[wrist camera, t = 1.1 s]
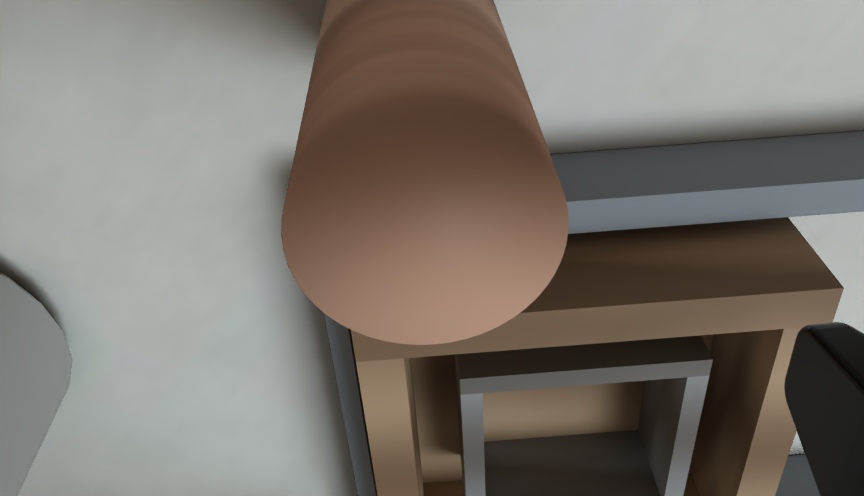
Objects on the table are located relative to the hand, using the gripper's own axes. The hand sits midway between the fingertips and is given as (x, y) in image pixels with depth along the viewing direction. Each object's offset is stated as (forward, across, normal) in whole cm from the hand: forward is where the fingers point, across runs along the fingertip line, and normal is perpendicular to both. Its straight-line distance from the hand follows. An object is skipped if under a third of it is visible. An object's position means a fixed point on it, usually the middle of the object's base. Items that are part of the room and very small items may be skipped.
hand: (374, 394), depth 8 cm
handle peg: (+13, -1, 0) cm, 13 cm away
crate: (+13, -4, +12) cm, 18 cm away
